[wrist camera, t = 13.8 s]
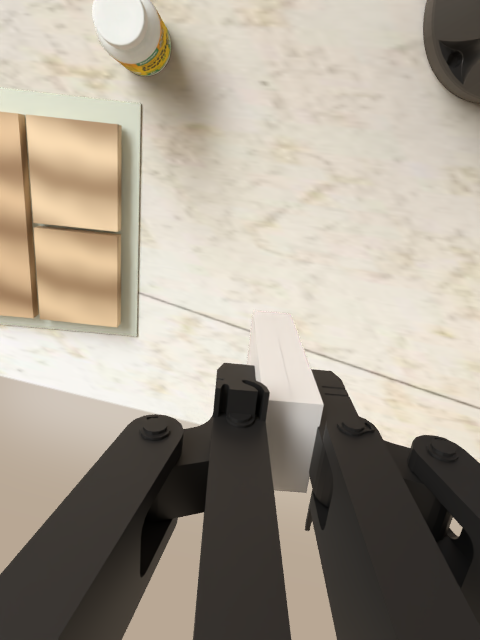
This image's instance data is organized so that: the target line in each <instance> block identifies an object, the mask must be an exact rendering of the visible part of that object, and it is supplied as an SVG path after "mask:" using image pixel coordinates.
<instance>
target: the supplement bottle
mask: <svg viewBox="0 0 480 640" xmlns="http://www.w3.org/2000/svg"><path fill="white" fill-rule="evenodd" d="M92 17H93V22H94V25H95V29H96V34H97V36H98V39H99V41H100V43H101V45H102V47H103V48H104V49H105V50H106V52H107V53H108V54H109V55H110V56H111V57H113V58H114V59H115V60H117V61H118V62H119V63H121V64H122V65H123V66H124V67H126V68H127V69H128V70H130V71H131V72H132V73H134V74H136V75H140V76H151V75H154V74H157V73H159V72H160V71H161V70H162V69H163V68H164V67H165V66H166V64H167V62H168V60H169V58H170V53H171V41H170V36H169V32H168V30H167V28H166V26H165V24H164V22H163V21H162V19H161V17H160V15H159V13H158V12H157V10H156V8H155V6H154V5H153V3H152V2H151V0H94V2H93V6H92Z"/></svg>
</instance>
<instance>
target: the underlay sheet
mask: <svg viewBox="0 0 480 640" xmlns="http://www.w3.org/2000/svg"><path fill="white" fill-rule="evenodd" d="M0 112H9V113H18V114H23V115H25V126H26V140H27V155H28V169H29V183H30V198H31V212H32V226H33V240H34V227H37V226H47V227H56V228H65V229H75V230H84V231H93V232H102V233H112V234H121V324H120V325H119V326H118V327H108V326H99V325H90V324H81V323H71V322H62V321H53V320H44V319H40V313H39V314H38V315H37V316H36V317H34V318H24V317H13V316H2V315H0V324H2V325H14V326H25V327H36V328H47V329H58V330H70V331H81V332H92V333H103V334H114V335H125V336H137V307H138V248H139V190H140V131H141V103H134V102H125V101H117V100H108V99H99V98H90V97H81V96H72V95H63V94H55V93H46V92H37V91H28V90H19V89H10V88H1V87H0ZM26 114H27V115H37V116H46V117H55V118H64V119H73V120H83V121H92V122H101V123H110V124H118V125H122V172H121V230H120V231H118V232H114V231H105V230H96V229H86V228H77V227H68V226H58V225H49V224H39V223H33V211H32V197H31V182H30V168H29V153H28V139H27V125H26ZM34 255H35V241H34ZM35 269H36V256H35ZM36 283H37V270H36ZM37 298H38V284H37ZM38 312H39V299H38Z"/></svg>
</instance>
